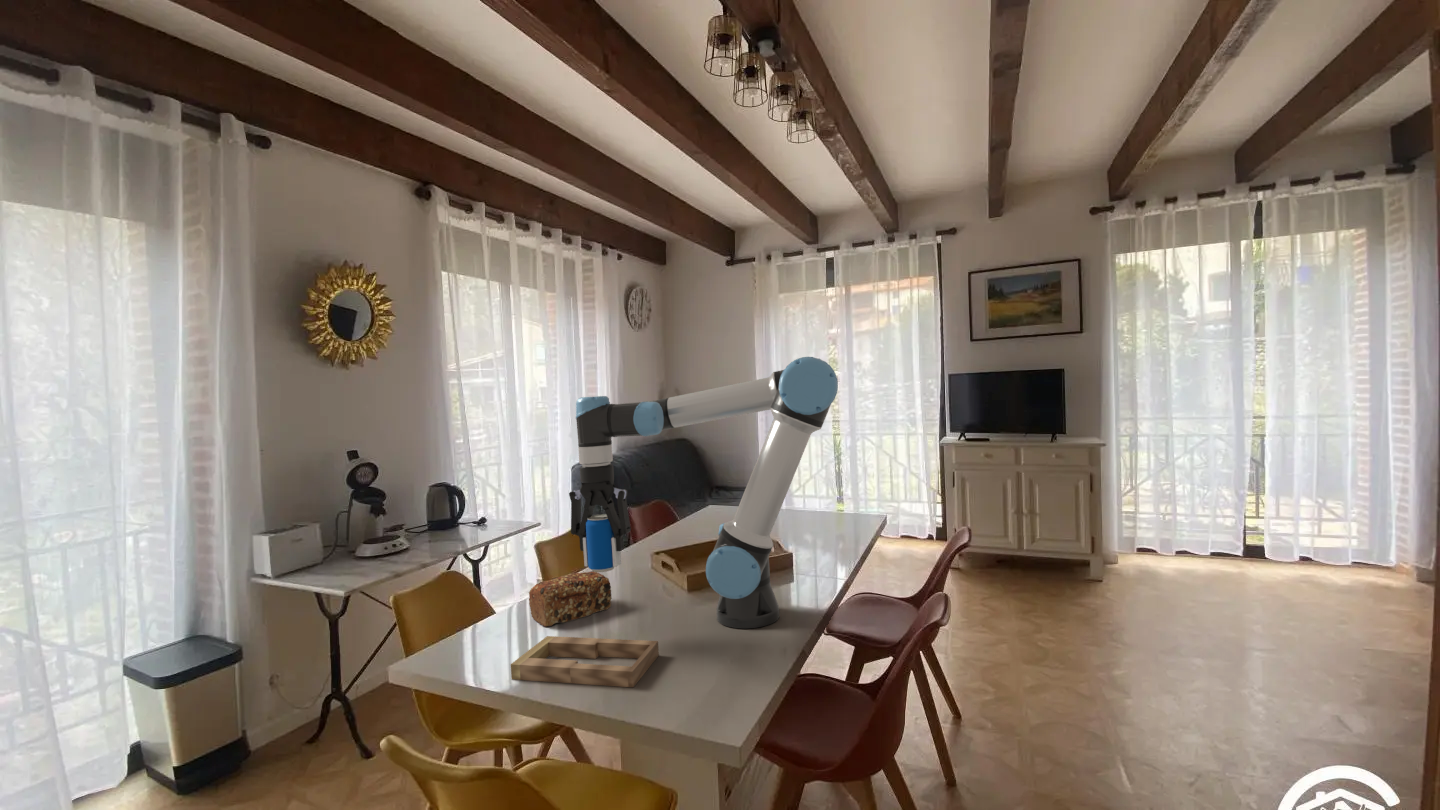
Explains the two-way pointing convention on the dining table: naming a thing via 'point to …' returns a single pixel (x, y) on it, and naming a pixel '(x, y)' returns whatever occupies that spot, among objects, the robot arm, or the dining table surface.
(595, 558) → the beverage can
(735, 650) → the dining table surface
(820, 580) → the dining table surface
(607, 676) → the wooden rectangular frame
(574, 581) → the bread
